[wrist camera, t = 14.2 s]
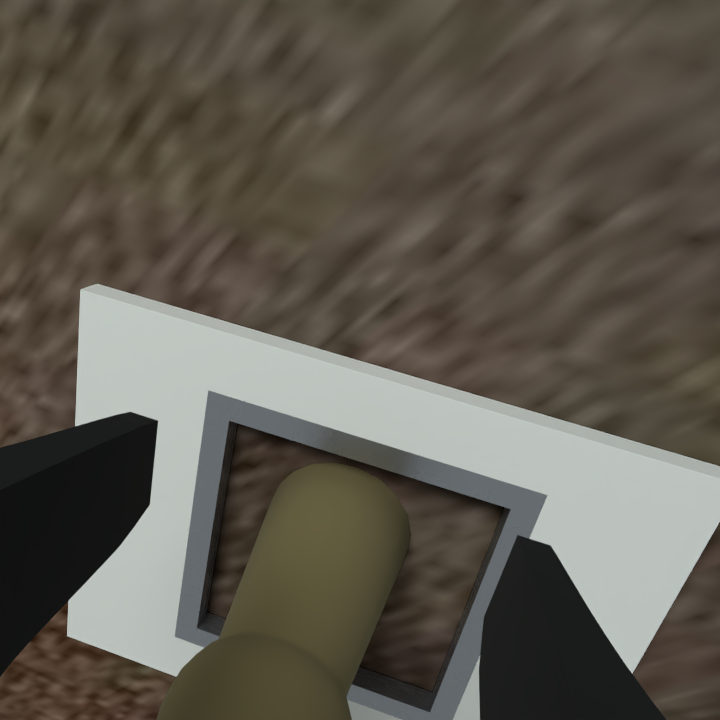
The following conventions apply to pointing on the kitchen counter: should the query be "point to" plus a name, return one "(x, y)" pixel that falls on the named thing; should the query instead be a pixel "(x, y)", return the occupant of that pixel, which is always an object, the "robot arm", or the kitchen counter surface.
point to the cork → (301, 603)
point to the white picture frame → (377, 448)
